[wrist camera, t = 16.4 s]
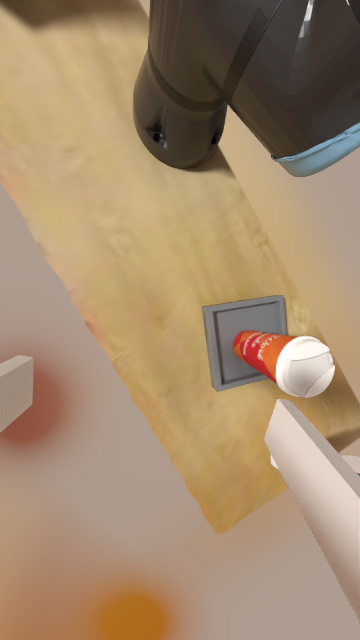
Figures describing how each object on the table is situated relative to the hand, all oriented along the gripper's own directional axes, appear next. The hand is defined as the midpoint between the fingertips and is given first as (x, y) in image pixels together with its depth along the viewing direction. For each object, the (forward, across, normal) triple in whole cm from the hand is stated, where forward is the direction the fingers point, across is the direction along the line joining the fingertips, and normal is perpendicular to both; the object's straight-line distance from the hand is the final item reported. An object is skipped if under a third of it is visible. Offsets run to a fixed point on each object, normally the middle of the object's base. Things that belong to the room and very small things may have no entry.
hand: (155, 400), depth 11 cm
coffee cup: (+28, +16, -4) cm, 32 cm away
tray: (+29, +16, -3) cm, 33 cm away
